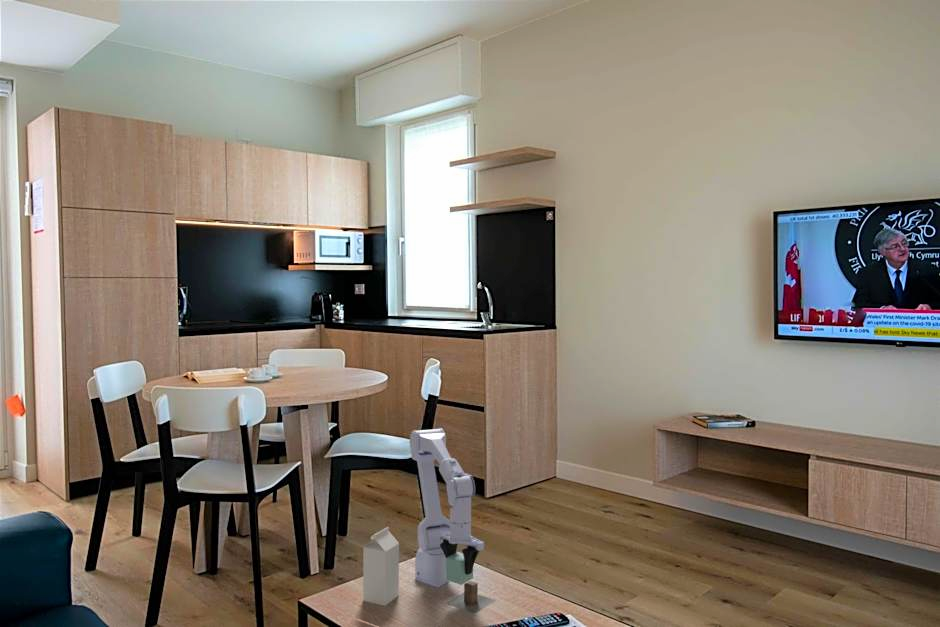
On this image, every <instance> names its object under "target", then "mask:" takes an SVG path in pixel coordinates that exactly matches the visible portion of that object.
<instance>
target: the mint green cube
mask: <svg viewBox="0 0 940 627" xmlns="http://www.w3.org/2000/svg"><path fill="white" fill-rule="evenodd" d="M473 579H474V569H473V570H472V573H470V574H468V575H466V574H465V560H464V555H463V552H459V551H456V553H455V554H453V555H451V556H449V557H447V558H446V580H448V581H449V582H451V583H455V584H458V585H460V586H462V585H464V584H465V583H467V582H468V581H472V580H473Z"/></svg>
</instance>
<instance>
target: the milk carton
mask: <svg viewBox="0 0 940 627" xmlns="http://www.w3.org/2000/svg"><path fill="white" fill-rule="evenodd" d="M389 530H390V528H389V526H387V527H385V528H383V529H382V530H380V531H378V532H376V533H374V534H373V535H372V536H370V537H369V538H370V540H371V541H369V542H368V543H367V544H366V545H364V546H363V554H362V555H363V556H362V557H363V562H362V565H363V566H362V567H363V568H362V573H363V574H362V575H363V576H362V577H363V578H362V588H363V590H362V600H363V601H364V602H367V603H371V604H376V605H379V606H387V605H388V604H389V603H391V602H392V601H394V600H395V599H396V598H397V597H399V594H400V593H399V589H400V588H399V587H400V586H399V584H400V582H399V581H400V578H399V577H400V574H399V573H400V570H399V569H400V568H399V567H400V543H399V541H398V540H397V539H396V538H395V537H394V535H393V534H392V533H391V532H390V531H389Z"/></svg>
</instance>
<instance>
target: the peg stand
mask: <svg viewBox="0 0 940 627" xmlns="http://www.w3.org/2000/svg"><path fill="white" fill-rule="evenodd" d="M478 584H479V583H478V582H476V581H472V580H469V581H467V582H465V583H464V584H463V585H464V586H463V592H462V593H460V594H459V595H457V596H455V597H453V598H452V599H450V600H448V601H447V602H445V604H446V605H449V606H452V607H455V608H458V609H461V610H462V611H463V610H464V611H466V612H469V613H473V614H477V613H479V612H480V611H482V610H483V609H485V608H486V607H488V606H490V605H492V604H493V603H494V602H496V600H497V599H494V598H491V597H487V596H485V595H481V594H478V590H479V588H478Z"/></svg>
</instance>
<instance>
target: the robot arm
mask: <svg viewBox="0 0 940 627" xmlns="http://www.w3.org/2000/svg"><path fill="white" fill-rule="evenodd" d="M409 437H410V438H409V447H410V455H411V460H414V461H416V462H417V464H416V465H417V469H418V477H419V481H420V489H421V495H422V503H423V510H424V516H425V517H424V518H423V519H422V520H421V521H420V523H419V524H418V525H417V545H418V550H417V551H416V554H415V560H414V561H415V562H414V568H415V569H414V577H413V580H414V581H418V582H421V583H424V584H428V585H430V586H433V587H437V588H438V587H441V586H443V585H445V584H447V583H448V582H450V581H448V580H446V558H447V557H449V556H451V555H453V554H455V553H457V549H458V545H461V546H465V548H463V549H462V550H461V553H463V555H464V560H465V574H466V575H468V574H470V573H472V570H473V571H474V564H475V562H476V559H477V557H478V555H479V553H480V551H483V550H485V542H484V541H482V540H480V539H478V538H476V537H475V536H472V498H473V497H475V494H476V485H475V484H476V483H475V480H474V478H473V475H471V474H468V473H465V471H464V470H463V468H462V467H461V465H460V464H459V462H458V460H457V459H456V458H453V457H451V455H450V453H449V451H448V448H447V435H446V432H445V431H444V429H443V428H441V427H439V428H432V429H422V430H421V429H420V430H416V429H414V430H412V431H411V433H410V435H409ZM435 460H436V462H437V463H438V464H439V466H438V471H439V473H440V475H441V477H442V479H443V480H444V482H445V484H446V485H445V486H446V489H445V490H446V494H447V497H448V498H447V503H448V504H449V518H447V517H446V516H445V515H443V514H442V507H441V501H440V494H439V487H438V482H437V474H436V469H435V463H434V462H435Z"/></svg>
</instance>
